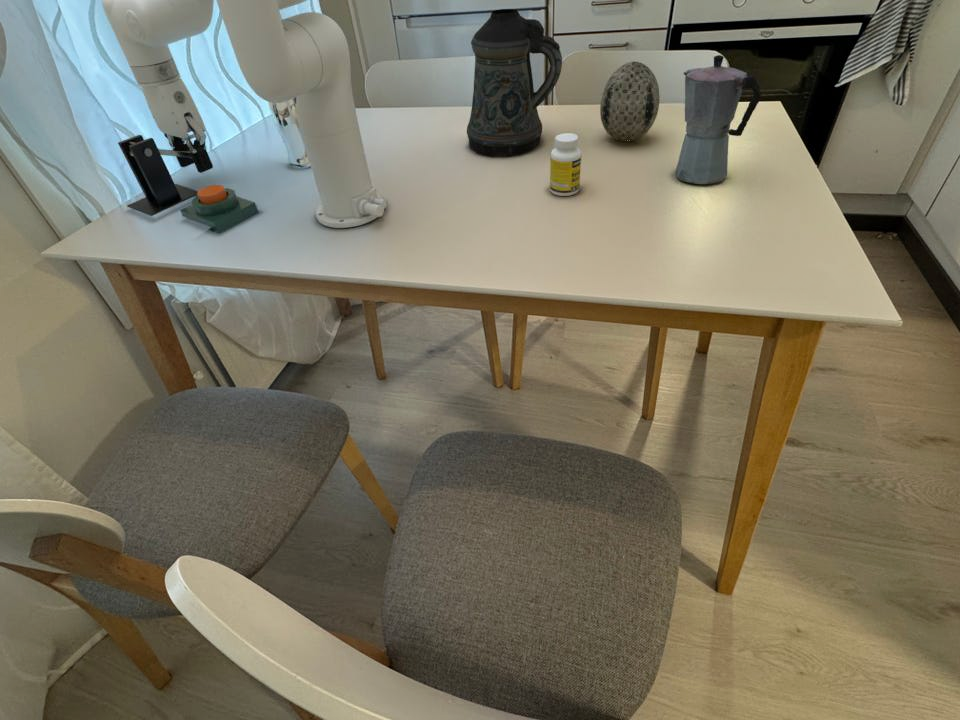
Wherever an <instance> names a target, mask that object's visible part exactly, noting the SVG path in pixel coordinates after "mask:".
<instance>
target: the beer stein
mask: <svg viewBox="0 0 960 720" xmlns="http://www.w3.org/2000/svg"><path fill="white" fill-rule="evenodd" d="M470 45H471V49H472V52H473V53H474V73H473V74H474V75H473V91H472V102H471V109H470V116H469V120H468V123H467V126H466V134H467V139H468V147H469V148H468V149H470V150H471V151H473V152H474V153H476V154H477V155H480V156H485V157H490V158H510V157H515V156H517V157H518V156H521V155H524V154H527V153H530V152H532V151H534V150H536V148H538V147H539V146H540V142H541V138H542V134H543V123H542V120H541V118H540V115H539V111H538V107H539V106H540V105H541V104H542V103H543V102H544V101H545V100H546V99H547V97H548V96H549V95H550V94H551V92H552V91H553V90H554V88H555V87H556V85H557V83H558V81H559V78H560V76H561V72H562V68H563V56H562V55H563V54H562V52H561V47H560V44H559V43H558V42H557V41H556V40H555V39H554V38H553V37H552V36H549V35H545V28H544V26H543V25H542V23H541V22H540V21H539V20H537V19H534V18H533V19H532V18H525V17H523V16H522V15H521V14H520V13H519V11H518V9H513V8H501V9H495V10H492V11H491V13H490V17H489V18H488V19H487V20H486V21H485V22H484V23H483V24H482V26H481V27H480V28H479V29H478V30H477V31H476V32H475V33H474V35H473V37H472V39H471V41H470ZM531 54H532V55H533V54H535V55H536V54H542V55H543V56H546V58H547V60H548V63H549V70H548V72H547V75H546V77H545V79H544V81H543V83H542V84H541V86H539V88H538V89H537V90H536V91H535V89H534V77H533V71H532V63H531Z"/></svg>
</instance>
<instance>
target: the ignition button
mask: <svg viewBox="0 0 960 720" xmlns="http://www.w3.org/2000/svg"><path fill="white" fill-rule="evenodd" d="M225 188H226V187H225V186H224V185H221V184H210V185H207V186H204V187H202V188H200V189H199V190H197V191H198V192H197V195H198V197H199V199H200V201H201V203H202V204H212V203H216V202H220V201H222V200H224V199H226V197H227V193H226V191H225ZM197 195H196V196H197Z"/></svg>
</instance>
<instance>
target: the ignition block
mask: <svg viewBox="0 0 960 720" xmlns="http://www.w3.org/2000/svg"><path fill="white" fill-rule="evenodd" d="M224 188H225V191H226V193H227V197H226V199H224V200H222V201H220V202H216V203H212V204H202V203H201V201H200V199H199V197H198V195H196V196H194V198H193V199H191V204H190V205H187V206H186V207H184V208H181V209H180V213H181V215H182V217H184V218H186V219H189V220H191V221H195V222H197V223H199V224H202V225H204V226H207V227H210V228H208V229H207V230H208V231H210V232H213V233H215V234H218V235H220V234H221V233H223V232H226V231H227V230H229V229H230V228H233V227H235V226H237V225H239V224H240V223H242V222H244V221H246V220H248V219H250V218H252V217H254V216H255V215H258V214H259V209H258V207H257V205H256V202H255V201H252V200H249V199H246V198H243V197H240V196H237V194H236V191H235V189H231V188H228V187H224Z"/></svg>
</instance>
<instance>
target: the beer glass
mask: <svg viewBox="0 0 960 720" xmlns="http://www.w3.org/2000/svg"><path fill="white" fill-rule="evenodd" d="M267 103H268V107H269V110H270V114H271V117H272V121H273V123H274V125H275V127H276V130H277V132H278V134H279V135H280V138H281V140H282V142H283V144H284V146H285V148H286V152H287V157H288V164H289V165H292V166H295V167H299V168H303V169H309V168H311V165H310V161H309V158H308V154H307V151H306V147H305V144H304V141H303V137H302V134H301V130H300V126H299V122H298V118H297V110H296V98H293V99H291V100H289V101H286V102H282V103H271V102H268V101H267Z"/></svg>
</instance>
